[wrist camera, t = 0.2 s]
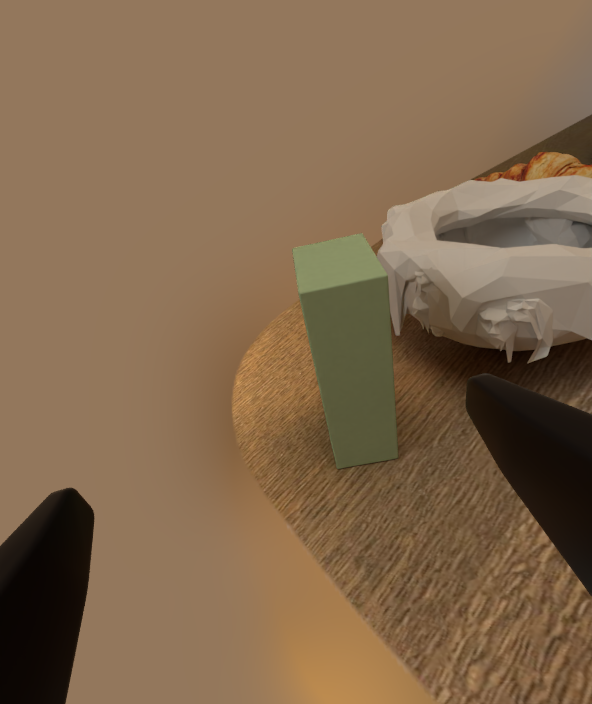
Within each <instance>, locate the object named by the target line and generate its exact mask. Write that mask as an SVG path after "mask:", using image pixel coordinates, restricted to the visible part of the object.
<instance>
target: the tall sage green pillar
mask: <svg viewBox="0 0 592 704" xmlns="http://www.w3.org/2000/svg"><path fill="white" fill-rule="evenodd" d="M292 252H293V259H294V265H295V272H296V279H297V286H298V293H299V298H300V303H301V307H302V312H303V316H304V321H305V325H306V330H307V334H308V339H309V344H310V348H311V353H312V357H313V362H314V366H315V371H316V376H317V380H318V385H319V389H320V394H321V398H322V403H323V407H324V412H325V417H326V421H327V426H328V430H329V435H330V439H331V444H332V449H333V453H334V458H335V462H336V467H337V469H340V468H346V467H352V466H357V465H363V464H369V463H374V462H380V461H386V460H391V459H397V458H398V442H397V424H396V407H395V389H394V372H393V354H392V337H391V320H390V302H389V285H388V275H387V273H386V271H385V270H384V268H383V266H382V265H381V263H380V262H379V260H378V258H377V257H376V255H375V253H374V252H373V250H372V248H371V247H370V245H369V244H368V242H367V240H366V239H365V237H364V235H363V234H362V233H361V234H356V235H352V236H347V237H342V238H338V239H333V240H329V241H324V242H319V243H315V244H310V245H306V246H301V247H297V248H293V249H292Z"/></svg>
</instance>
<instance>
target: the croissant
mask: <svg viewBox="0 0 592 704" xmlns="http://www.w3.org/2000/svg"><path fill="white" fill-rule="evenodd" d="M571 175H579V176H583V177H588V178H592V165H584V164H581V163H580V161H579V160H578V159H577V158H575V157H573V156H571V155H568V154H560V153H557V152H551V153H547V152H543V153H542V152H540V153H539V154H538V155H536V156H535V157H533V158H532V159H531V160H530V162H529V163H528V164H516V165H514V166H513V167H512V168H510V169H509V170H508V171H506V172H504V173H502V172H499V173H492V174H491V175H489V176H488V177H484V178H483V177H482V178H478V179H475V181H487V182H493V181H495V180H498V179H500V178H503V179H508V180H513V181H519V182H521V181H528V180H535V179H543V178H550V177H560V176H571Z"/></svg>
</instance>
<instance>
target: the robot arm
mask: <svg viewBox="0 0 592 704" xmlns="http://www.w3.org/2000/svg"><path fill="white" fill-rule="evenodd" d="M466 409H467V412H468V414H469V416H470V418H471V420H472V421H473V423H474V425H475V427H476V428H477V430H478V432H479V434H480V435H481V437H482V439H483V441H484V442H485V444H486V446H487V448H488V449H489V451H490V453H491V455H492V456H493V458H494V460H495V462H496V463H497V465H498V467H499V468H500V470H501V472H502V473H503V475H504V476H505V477H506V479H507V480H508V482H509V483H510V485H511V486H512V487H513V489H514V490H515V492H516V493H517V494H518V496H519V497H520V498H521V500H522V501H523V503H524V504H525V505H526V507H527V508H528V509H529V511H530V512H531V514H532V515H533V516H534V518H535V519H536V520H537V522H538V523H539V525H540V526H541V527H542V529H543V530H544V531H545V533H546V534H547V536H548V537H549V538H550V540H551V541H552V543H553V544H554V545H555V547H556V548H557V549H558V551H559V552H560V554H561V555H562V556H563V558H564V559H565V560H566V562H567V563H568V565H569V566H570V567H571V569H572V570H573V571H574V573H575V574H576V576H577V577H578V578H579V580H580V581H581V582H582V584H583V585H584V587H585V588H586V589H587V591H588V592H589V594H590V595H591V596H592V414H589V413H587V412H584V411H582V410H579V409H577V408H574V407H572V406H569V405H567V404H564V403H562V402H559V401H557V400H554V399H551V398H549V397H546V396H544V395H541V394H539V393H536V392H534V391H531V390H529V389H526V388H524V387H521V386H519V385H516V384H514V383H511V382H509V381H506V380H504V379H501V378H499V377H496V376H494V375H491V374H487V373H485V374H481V375H477V376H473V377H471V378H469V379H468V381H467V392H466ZM93 529H94V513H93V510H92V508H91V506H90V505H89V504H88V503H87V502H86V501H85V499H84V498H83V497H82V496H81V495H80V494H79V493H78V491H77V490H75V489H73V488H66V489H63V490H59V491H56V492H53V493H51V494H50V495H49V496H48V497H47V498H46V499H45V500H44V501H43V502H42V503H41V504H40V505H39V506H38V507H37V508H36V509H35V510H34V511H33V512H32V513H31V515H30V516H29V517H28V518H27V519H26V520H25V521H24V522H23V523H22V524H21V525H20V526H19V527H18V528H17V529H16V530H15V531H14V532H13V533H12V534H11V535H10V536H9V538H8V539H7V540H6V541H5V542H4V543H3V544H2V545H1V546H0V704H65V703H66V698H67V693H68V688H69V682H70V677H71V672H72V667H73V662H74V657H75V652H76V647H77V642H78V636H79V632H80V627H81V621H82V616H83V611H84V606H85V601H86V595H87V589H88V581H89V572H90V571H89V570H90V560H91V550H92V540H93Z"/></svg>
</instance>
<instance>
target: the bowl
mask: <svg viewBox="0 0 592 704" xmlns="http://www.w3.org/2000/svg"><path fill="white" fill-rule="evenodd" d="M381 227H382V235H383V245H382V246H381V248H380V249H379V251H378V255H377V258H378V260H379V262H380V263H381V265H382V266H383V268H384V270H385V271H386V273H387V275H388V285H389V302H390V314H391V318H392V322H393V326H394V330H395V334H396V335H400V331H401V329H402V327H403V323H404V319H405V315H406V314H411V315H412V316H414V317H415V318H416V319H418V320H419V321H420V323H421V325H422V327H423V330H424V325H425V327H426V329H427V331H428V333H429V328H430V329H431V331H432V334H434V335H435V336H438V337H441V336H444V337H446V338H449V339H452V340H454V341H457V342H459V343H462V344H467V345H471V346H475V347H482V348H492V349H501V350H506V353H507V359H508V363H509V362H511V359H512V353H513V351H525V350H535V351H534V352H533V354H532V356H531V357H530V359H529V361H528V362H527V363H530V362H533V361H535V360H538V359H541V358H544V357H547V355H548V353H549V350H550V347H551V346H556V345H560V344H565V343H570V342H575V341H579V340H584V339H586V338H588V339H590V340H592V178H588V177H583V176H579V175H571V176H560V177H550V178H543V179H535V180H528V181H521V182H519V181H513V180H508V179H503V178H500V179H498V180H495V181H493V182H487V181H474V180H469V181H467V182H464V183H462V184H460V185H458V186H456V187H453V188H451V189H449V190H445V191H438V192H435V193H433V194H430V195H427V196H425V197H423V198H421V199H419V200H416V201H413V202H411V203H408V204H404V205H397V206H393V207H392V208H391V209H389V210H388V215H387V221H386V222H385V223H384V224H383V225H382V226H381Z"/></svg>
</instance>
